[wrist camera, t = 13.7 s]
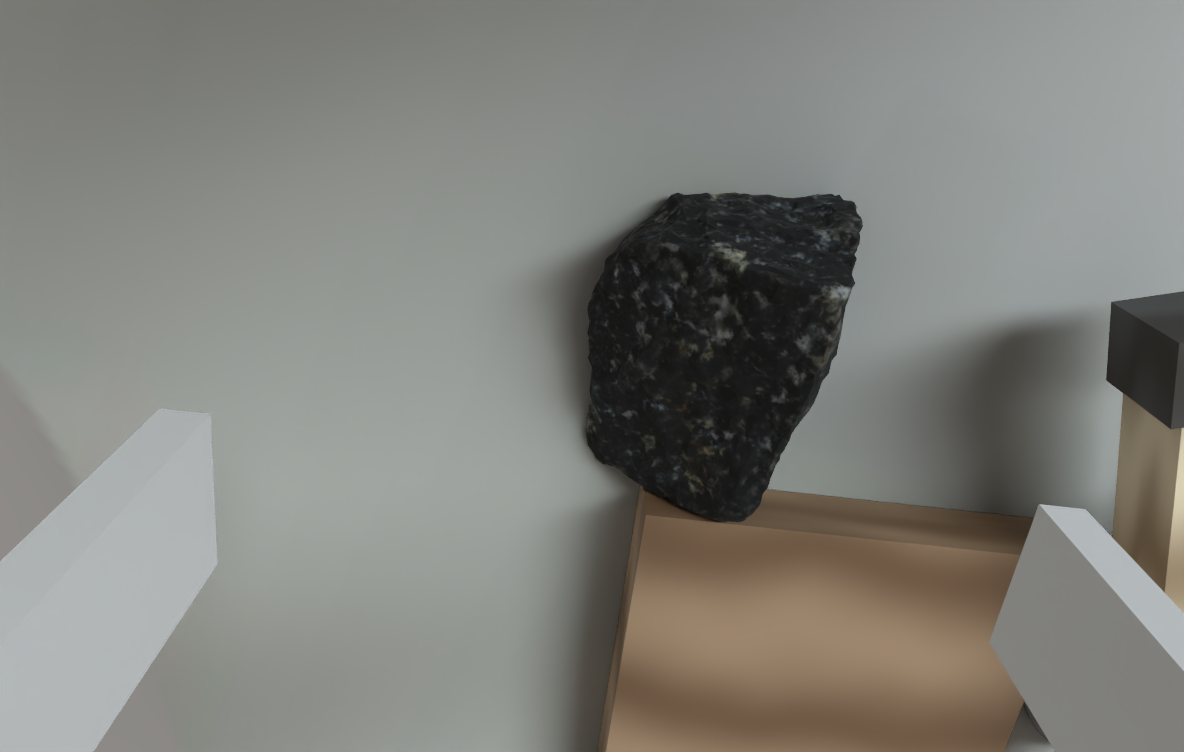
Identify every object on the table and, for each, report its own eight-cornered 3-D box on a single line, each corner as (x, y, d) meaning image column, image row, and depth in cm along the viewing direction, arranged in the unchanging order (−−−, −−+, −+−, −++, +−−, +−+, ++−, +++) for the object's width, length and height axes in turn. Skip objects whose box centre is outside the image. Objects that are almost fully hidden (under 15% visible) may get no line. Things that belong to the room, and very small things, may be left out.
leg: (1181, 695, 31) (1243, 770, 28) (1084, 707, 31) (1136, 782, 28) (1229, 284, 25) (1314, 323, 22) (1111, 302, 25) (1179, 343, 22)
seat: (642, 475, 31) (653, 600, 24) (1222, 538, 32) (1376, 674, 25) (592, 782, 36) (591, 947, 30) (1088, 828, 37) (1188, 998, 31)
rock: (568, 462, 31) (562, 561, 25) (607, 160, 27) (610, 201, 22) (771, 485, 31) (808, 588, 26) (840, 189, 27) (900, 238, 22)
